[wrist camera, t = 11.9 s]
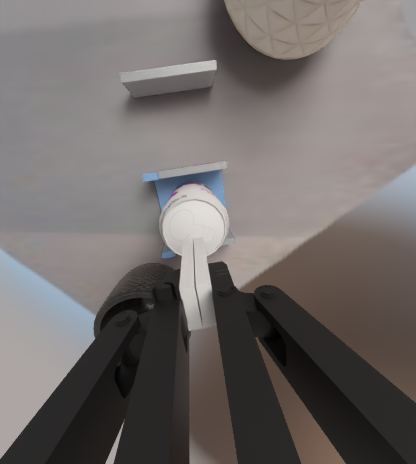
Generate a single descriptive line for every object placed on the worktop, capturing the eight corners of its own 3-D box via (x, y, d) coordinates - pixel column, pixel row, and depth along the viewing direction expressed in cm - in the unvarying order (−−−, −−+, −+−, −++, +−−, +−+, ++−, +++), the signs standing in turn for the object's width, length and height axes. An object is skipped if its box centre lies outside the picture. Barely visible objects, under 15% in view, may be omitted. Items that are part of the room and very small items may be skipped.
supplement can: (164, 217, 36) (147, 251, 22) (179, 173, 34) (170, 180, 20) (205, 231, 38) (214, 272, 24) (222, 190, 36) (243, 208, 21)
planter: (200, 262, 40) (204, 305, 28) (179, 316, 44) (175, 374, 32) (130, 243, 38) (102, 281, 26) (115, 302, 42) (84, 359, 30)
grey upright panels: (132, 90, 30) (115, 68, 23) (211, 79, 30) (217, 54, 24) (167, 241, 38) (162, 258, 32) (228, 231, 39) (237, 246, 32)
